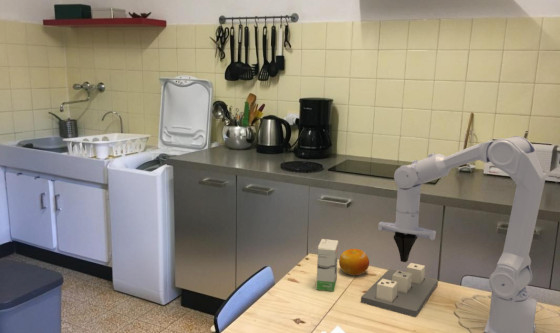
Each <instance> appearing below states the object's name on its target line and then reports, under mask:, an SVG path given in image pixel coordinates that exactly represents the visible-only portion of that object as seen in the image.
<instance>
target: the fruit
mask: <svg viewBox="0 0 560 333" xmlns="http://www.w3.org/2000/svg"><path fill="white" fill-rule="evenodd" d="M338 260H339V261H338V263H339V264H338V265H339V267H340V270H342V271H343V272H344V273H345V274H347V275H350V276H360V275H362V274H365V273H366V272H367V271H368V269H369V266H370V259H369V257H368V255H367V254H366V252H365V251H364V250H362V249H359V248H349V249H346V250H345V251H343V252H342V253H341V255H340V257H339V258H338Z"/></svg>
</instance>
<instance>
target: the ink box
mask: <svg viewBox="0 0 560 333" xmlns="http://www.w3.org/2000/svg"><path fill="white" fill-rule="evenodd" d="M338 253H339V240H336V239H327V238H321V240H320V242H319V243H318V245H317V264H316V290H318V291H326V292H327V291H328V292H334V291H335V289H336V284H337V278H338V276H337V275H338V260H339V256H338V255H339V254H338Z"/></svg>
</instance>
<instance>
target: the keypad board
mask: <svg viewBox="0 0 560 333" xmlns="http://www.w3.org/2000/svg"><path fill="white" fill-rule="evenodd" d="M396 271H397V270H396V269H392V268H391V269H390V268H389V269H387V270H386V272H385V273H383V275H381V276H380V278H379V279H377V280H376V281H375V282H374V284H372V285H371V286H370V287H369V288H368V290H366V291H365V292H364V294H362V295H361V297H360V303H361V304H366V305H370V306H374V307H377V308H381V309H385V310H387V311H391V312H396V313H399V314H403V315H407V316H410V317H414V318H417V316H418V315H419V313H420V312H421V310H422V309H423V307H424V306H425V305H426V303H427V301H428V300H429V298H430V297H431V295H432V294H433V293H434V292H435V289H436V288H437V286H438V284H439V279H436V278H432V277H427V276H424V281H423V282H422V284H417V283H413V282H411V289H410V291H409V292H408V293H404V292H400V291H397V298H396V299H395V301H394V302H393V303H391V302H387V301H384V300H380V299H376V296H377V284H378V283H379V282H380V281H381V280H382V279H387V280H391V281H392V275H393V274H394V273H395V272H396Z"/></svg>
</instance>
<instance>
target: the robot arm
mask: <svg viewBox="0 0 560 333" xmlns="http://www.w3.org/2000/svg"><path fill="white" fill-rule="evenodd" d="M537 151H538V149H537V148H536V147H535V146H534V144H532V143H531V141H529V139H527V138H525V137H524V136H519V135H514V136H511V137H507V138H498V139H496V140H495V139H494V140H491V141H490V140H489V141H486V142H485V141H484V142H480V143H477V144H474V145H472V146H469V147H467V148H464V149H461V150H459V151H457V152H456V151H455V152H454V153H452V154H449V155H447V156H446V155H444V154H442V153H437V154H436V153H435V152H433V153H429V154H428V155H427V157H425V158H423V159H421V160H417V159H415V160H412V161H411V164H405V165H400V167H398V168H396V170H395V171H394V174H393V179H394V181H395V184H396V186H397V189H396V190H397V191H396V192H397V195H396V210H395V221H394V222H386V221H380V222H379V223H377V224H378V227H377V229H378V231H385V232H391V233H394V235H393V240H394V241H395V244H396V246H397V250H398V252H399V258H400V262H402V263H407V262H408V261H409V258H410V253H411V251H412V249H413V246H414V244H415V242H416V241H417V239H418V237H419V238H423V239H429V240H430V241H435V239H436V236H437V235H436V234H437V231H436V230H433V229H432V230H431V229H429V228H425V227H421V226H419V218H420V217H419V216H420V205H421V204H420V203H421V191H422V186H423V184H426V183H429V182H432V181H435V180H438V179H441V178H444V177H447V176H449V174H450V171H451V170H452V169H455V168H458V167H459V166H460V167H461V166H464V165H467V164H470V163H473V162H476V161H477V162H478V161H481V162H483V163H486V164H487V163H488V164H489V163H491V164H492V165H493V166H494V167H495V168H497V169H498V170H500V171H502V172H503V173H505V174H507V175H508V176H509V177H510V178H511V179H512V181H513V182H514V183H515V185H516V187H515V193H514V196H513V201H512V206H511V211H510V216H509V220H508V226H507V230H506V231H507V232H506V236H505V241H504V245H503V249H502V250H503V251H502V253H501V255H500V257H499V259H498V261H497V263H496V268H495V270H494V271H493V272H492V273H491V274H490V276H489V278H488V284H489V288H490V290H491V294H490V295H491V297H490V305H489V306H490V307H489V314H488V316H489V317H488V319H487V322H486V324H485V327H484V329H483V330H484V331H483V332H484V333H535V332H536V328H537V327H536V325H537V324H535V321H536V313H537V304H538V300H537V299H535V298H532V297H530V296H529V295H528V291H527V289H526V288H527V286H529V285H530V284H531V283H532V281H533V272H532V269H531V264H532V259H531V257H530V251H531V247H532V243H533V237H534V233H535V229H536V224H537V220H538V214H539V210H540V205H541V201H542V196H543V193H544V189H545V188H544V187H545V182H546V175H545V173H544V170H543V167H542V165H541V163H540V160H539V157H538V152H537Z"/></svg>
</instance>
